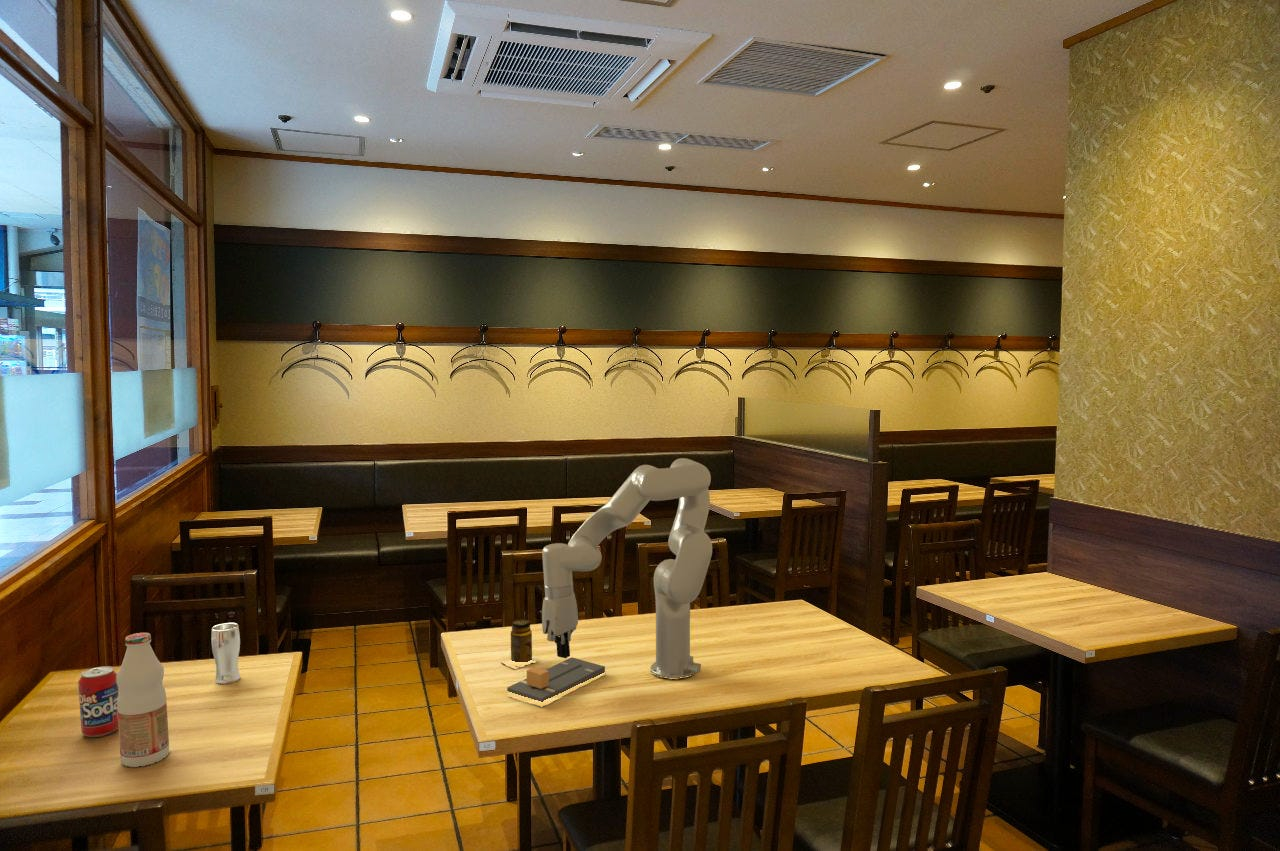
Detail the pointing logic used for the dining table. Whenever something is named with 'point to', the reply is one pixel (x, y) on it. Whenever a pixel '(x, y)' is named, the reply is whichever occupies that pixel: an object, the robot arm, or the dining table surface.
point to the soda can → (98, 701)
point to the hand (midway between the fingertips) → (563, 656)
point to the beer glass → (226, 652)
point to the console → (559, 679)
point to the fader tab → (537, 677)
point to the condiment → (521, 641)
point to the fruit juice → (141, 704)
